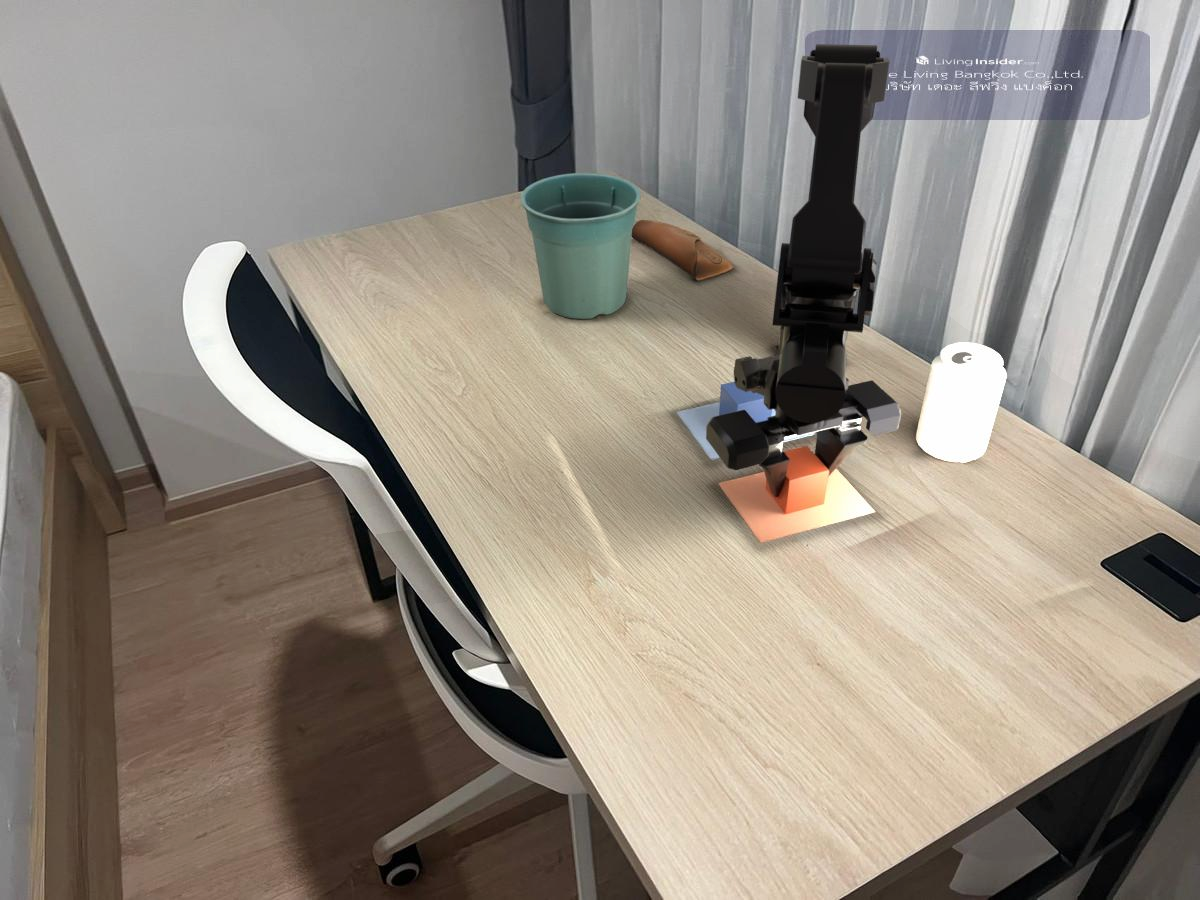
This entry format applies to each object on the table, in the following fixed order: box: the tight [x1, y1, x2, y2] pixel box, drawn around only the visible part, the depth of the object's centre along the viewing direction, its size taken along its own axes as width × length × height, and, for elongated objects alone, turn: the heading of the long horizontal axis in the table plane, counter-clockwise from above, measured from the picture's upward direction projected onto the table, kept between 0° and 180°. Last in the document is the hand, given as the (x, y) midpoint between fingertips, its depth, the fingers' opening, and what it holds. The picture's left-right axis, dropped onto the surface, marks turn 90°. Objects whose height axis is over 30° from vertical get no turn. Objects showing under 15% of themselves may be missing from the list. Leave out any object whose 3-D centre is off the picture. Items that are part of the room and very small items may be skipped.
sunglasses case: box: [631, 219, 735, 282], centre depth 142 cm, size 18×7×7 cm
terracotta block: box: [765, 445, 829, 514], centre depth 93 cm, size 4×4×4 cm
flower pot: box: [520, 172, 642, 320], centre depth 127 cm, size 16×16×16 cm
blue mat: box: [676, 401, 816, 461], centre depth 105 cm, size 13×10×1 cm
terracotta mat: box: [717, 468, 876, 544], centre depth 94 cm, size 13×10×1 cm
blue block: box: [719, 381, 772, 423], centre depth 104 cm, size 4×4×4 cm
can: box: [915, 342, 1007, 464], centre depth 97 cm, size 8×8×12 cm
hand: (795, 489), depth 94 cm, fingers closed on terracotta block, 4 cm apart
